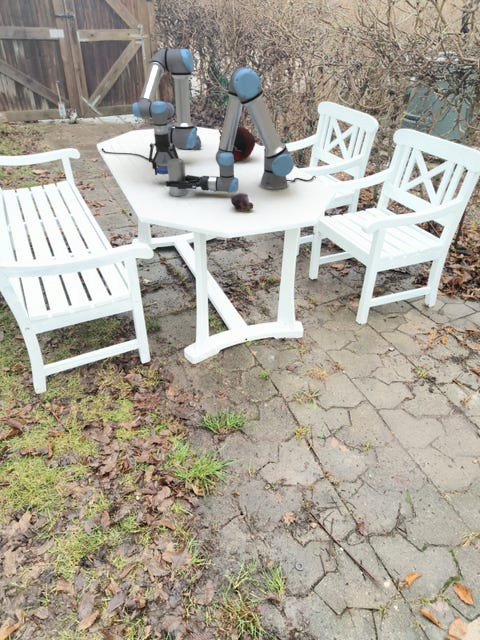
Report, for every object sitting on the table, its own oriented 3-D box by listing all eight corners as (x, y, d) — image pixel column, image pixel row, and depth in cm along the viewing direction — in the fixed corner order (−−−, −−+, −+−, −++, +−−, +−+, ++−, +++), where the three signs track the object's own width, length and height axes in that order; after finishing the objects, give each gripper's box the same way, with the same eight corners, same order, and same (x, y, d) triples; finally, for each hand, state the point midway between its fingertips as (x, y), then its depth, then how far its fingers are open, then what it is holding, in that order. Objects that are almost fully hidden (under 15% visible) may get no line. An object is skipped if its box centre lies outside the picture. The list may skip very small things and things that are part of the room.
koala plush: (201, 150, 322) (199, 120, 311) (176, 150, 321) (173, 121, 310) (201, 144, 336) (199, 116, 325) (177, 144, 335) (174, 116, 324)
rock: (244, 206, 231) (227, 209, 227) (243, 189, 228) (226, 192, 224) (256, 210, 222) (238, 213, 218) (255, 192, 218) (237, 195, 214)
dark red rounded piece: (216, 132, 305) (216, 129, 282) (250, 124, 304) (252, 121, 281) (223, 164, 312) (223, 164, 288) (256, 157, 311) (259, 156, 288)
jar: (174, 197, 241) (171, 163, 231) (167, 192, 247) (164, 159, 237) (189, 194, 245) (187, 161, 235) (182, 189, 251) (179, 157, 241)
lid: (173, 173, 253) (173, 170, 251) (156, 174, 251) (155, 170, 250) (173, 169, 261) (173, 165, 260) (156, 169, 260) (156, 166, 258)
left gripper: (139, 134, 242) (144, 176, 254) (180, 134, 241) (183, 176, 254) (142, 131, 248) (147, 172, 260) (182, 131, 247) (185, 172, 260)
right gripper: (204, 197, 232) (163, 194, 237) (215, 184, 250) (176, 181, 254) (203, 182, 228) (161, 180, 232) (214, 170, 246) (175, 168, 250)
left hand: (165, 174), depth 257 cm, fingers closed on lid, 10 cm apart
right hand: (169, 180), depth 243 cm, fingers closed on jar, 9 cm apart
